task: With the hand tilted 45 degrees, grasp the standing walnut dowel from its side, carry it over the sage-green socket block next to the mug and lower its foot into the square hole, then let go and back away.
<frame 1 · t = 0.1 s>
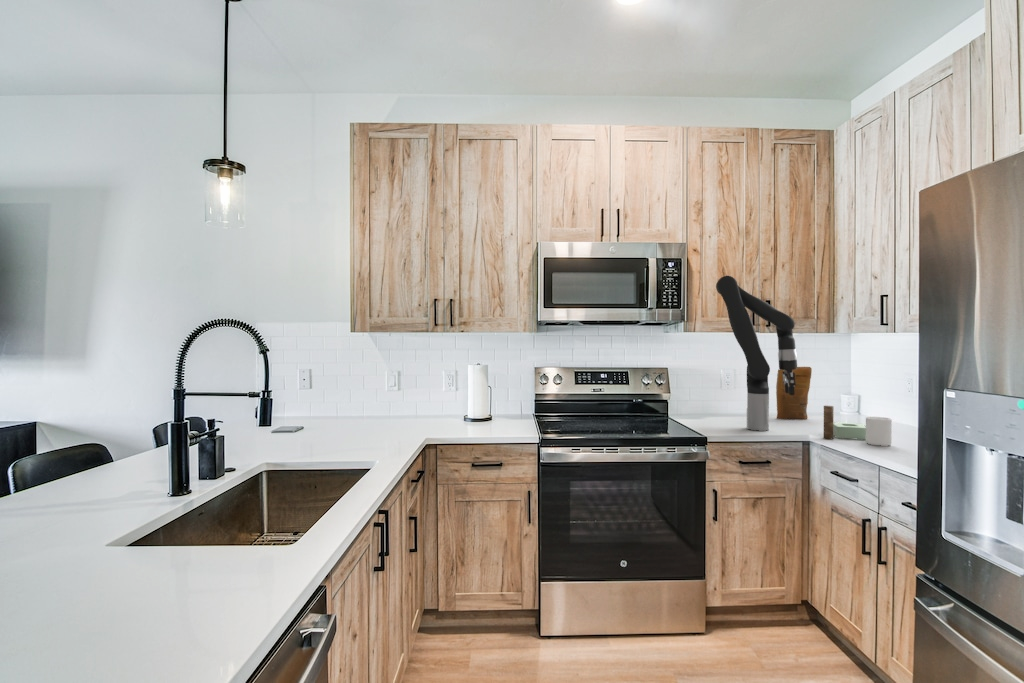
hand: (789, 394, 239), 17 cm above the countertop, tool pointing down, fingers open, 8 cm apart
dowel: (828, 438, 222), on the countertop
socket block: (849, 436, 227), on the countertop
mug: (875, 443, 212), on the countertop
pancake mix bag: (793, 419, 275), on the countertop
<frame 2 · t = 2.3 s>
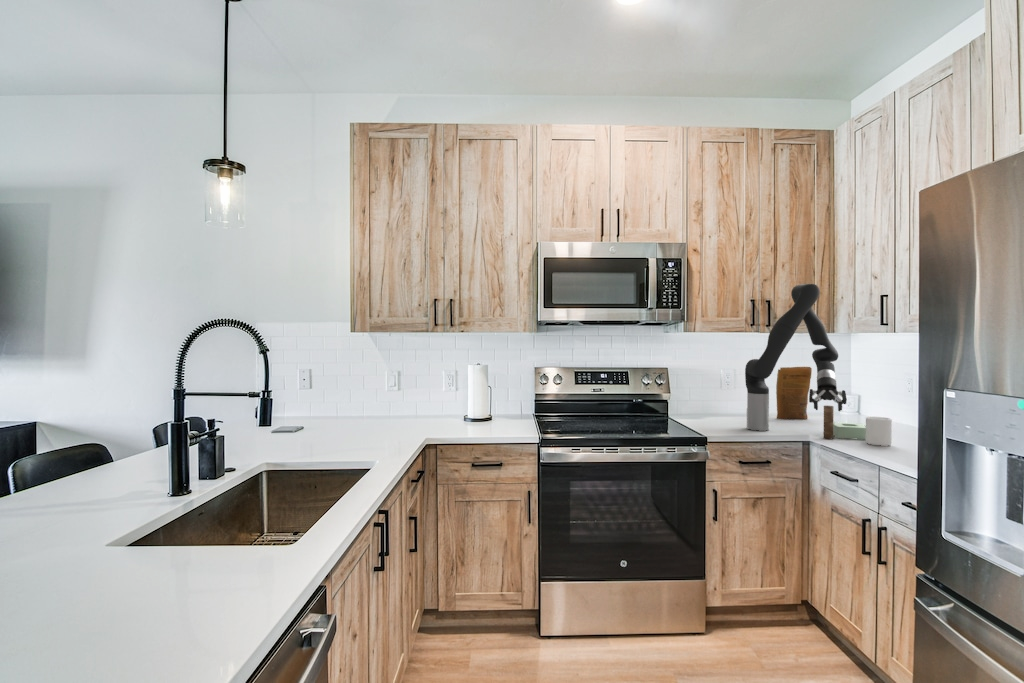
hand: (828, 409, 226), 12 cm above the countertop, tool tilted 45°, fingers open, 8 cm apart
nothing on the countertop moved.
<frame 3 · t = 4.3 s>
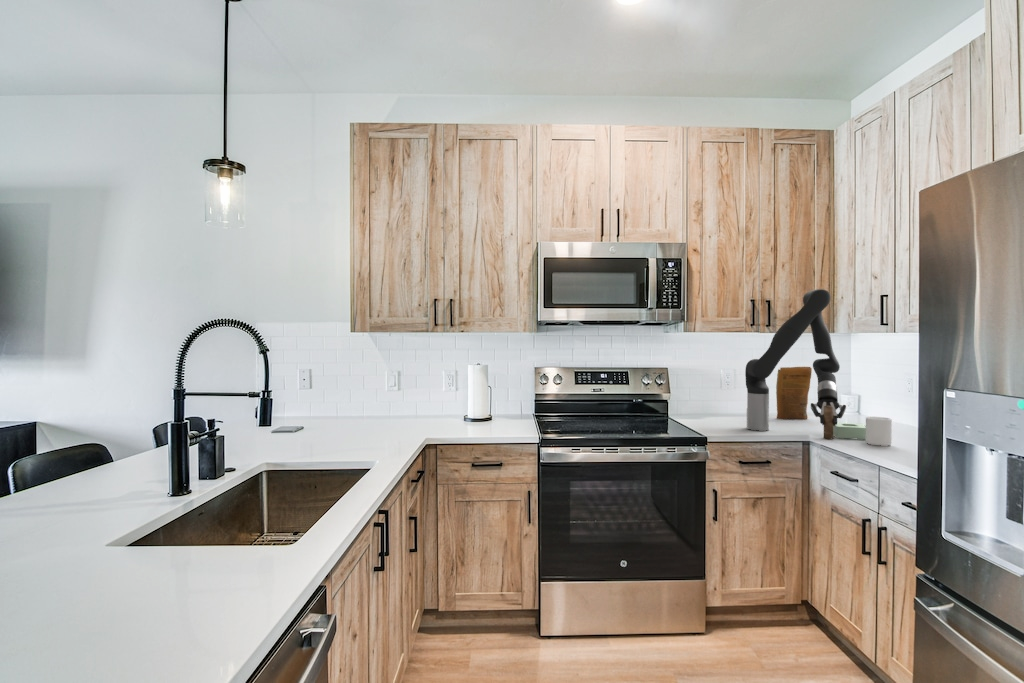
hand: (828, 424, 221), 7 cm above the countertop, tool tilted 45°, fingers closed on dowel, 3 cm apart
dowel: (828, 438, 222), on the countertop, touching gripper
everything else where it was.
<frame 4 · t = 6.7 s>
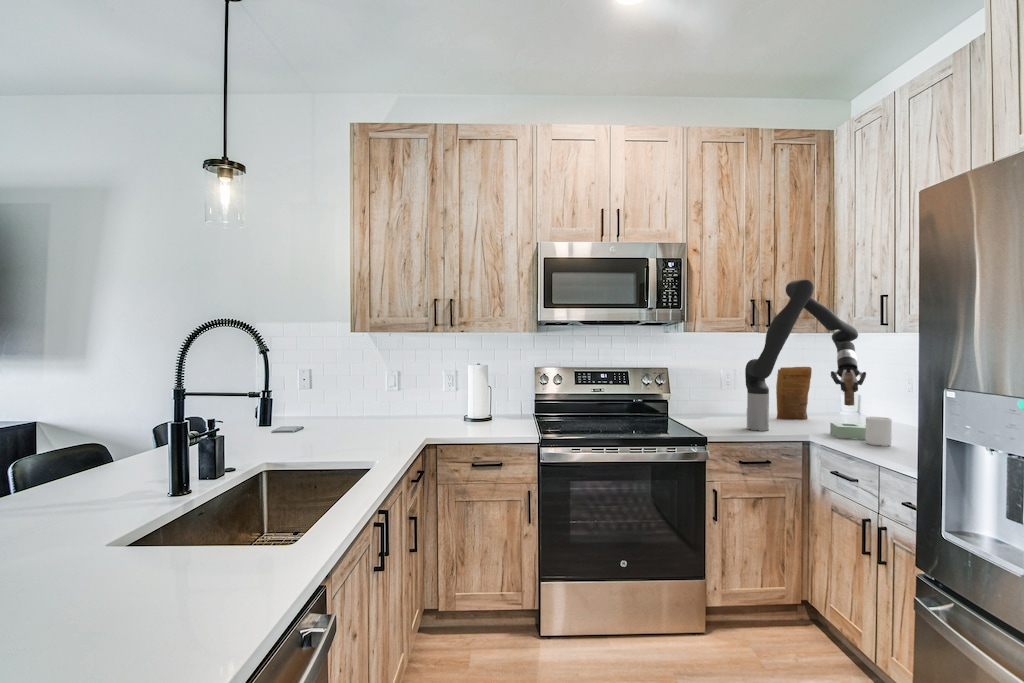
hand: (849, 390, 224), 20 cm above the countertop, tool tilted 45°, fingers closed on dowel, 3 cm apart
dowel: (849, 405, 226), point 14 cm above the countertop, touching gripper
everything else where it was.
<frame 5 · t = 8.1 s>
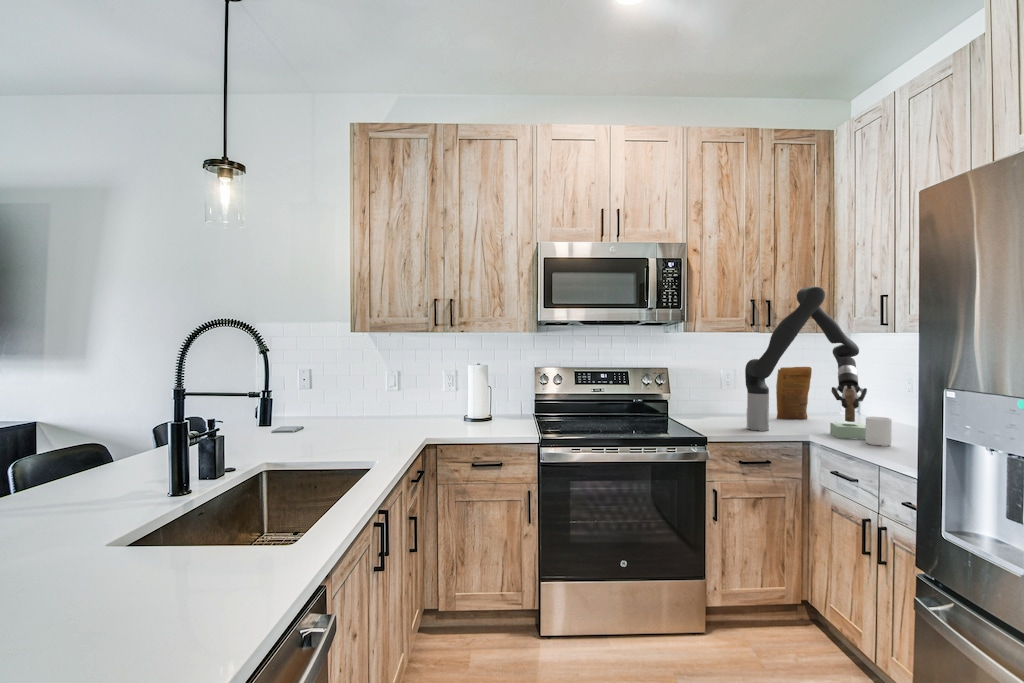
hand: (850, 407, 225), 13 cm above the countertop, tool tilted 45°, fingers closed on dowel, 3 cm apart
dowel: (849, 421, 227), point 7 cm above the countertop, touching gripper
everything else where it was.
when the fingers open (9 cm above the countertop, at t = 9.1 s): dowel drops 3 cm, resting in socket block.
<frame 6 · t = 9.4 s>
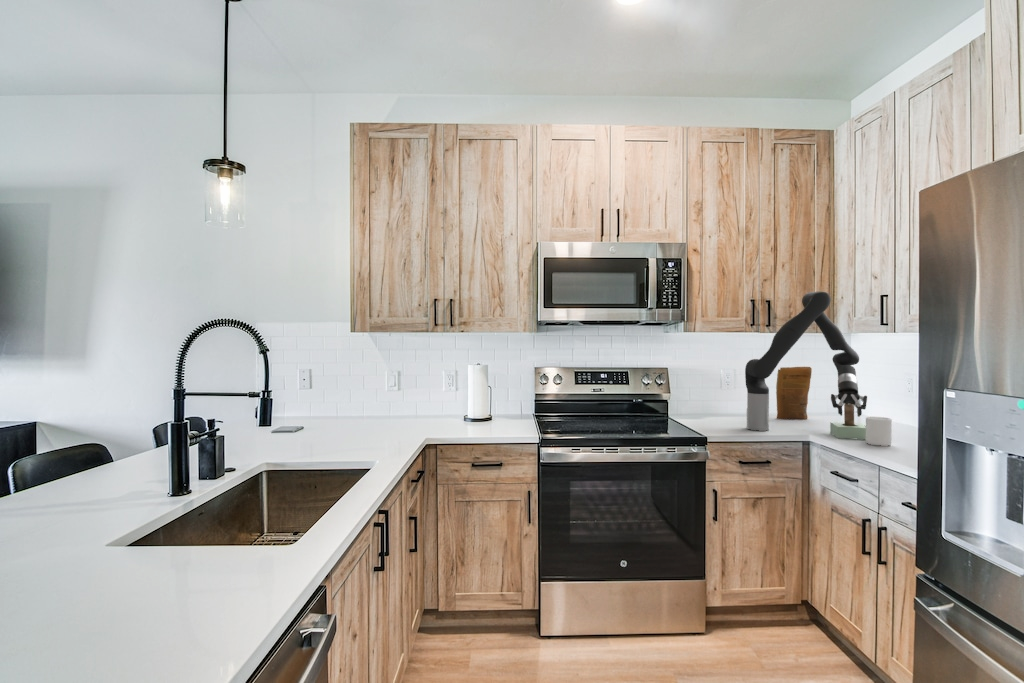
hand: (850, 414, 225), 10 cm above the countertop, tool tilted 45°, fingers open, 6 cm apart
dowel: (849, 436, 227), resting in socket block
everything else where it was.
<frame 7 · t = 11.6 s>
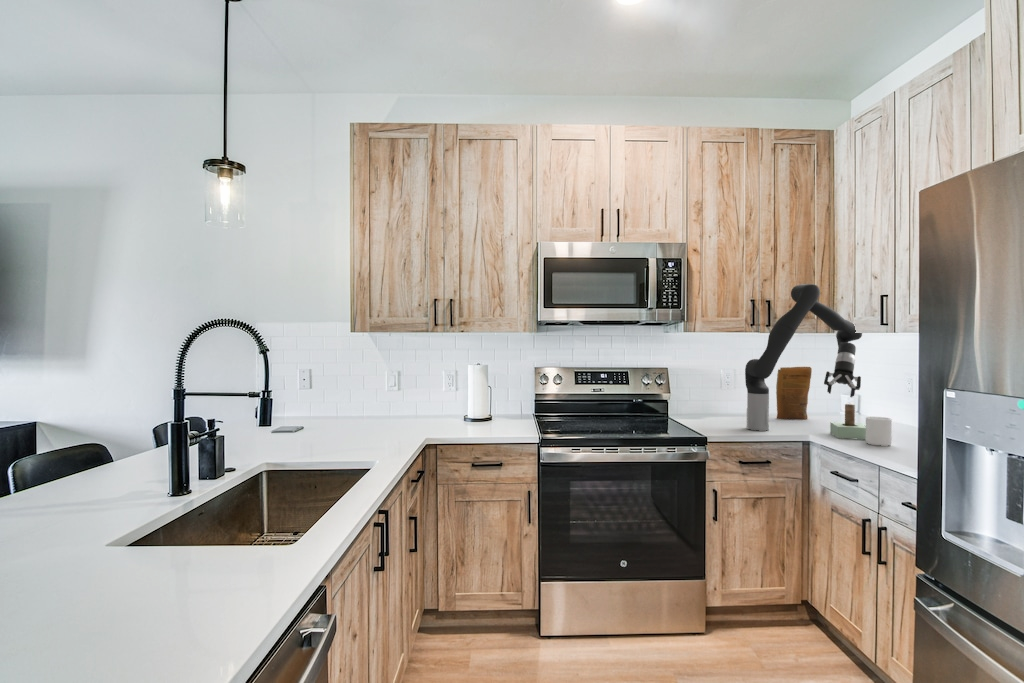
hand: (840, 394, 238), 17 cm above the countertop, tool tilted 30°, fingers open, 8 cm apart
nothing on the countertop moved.
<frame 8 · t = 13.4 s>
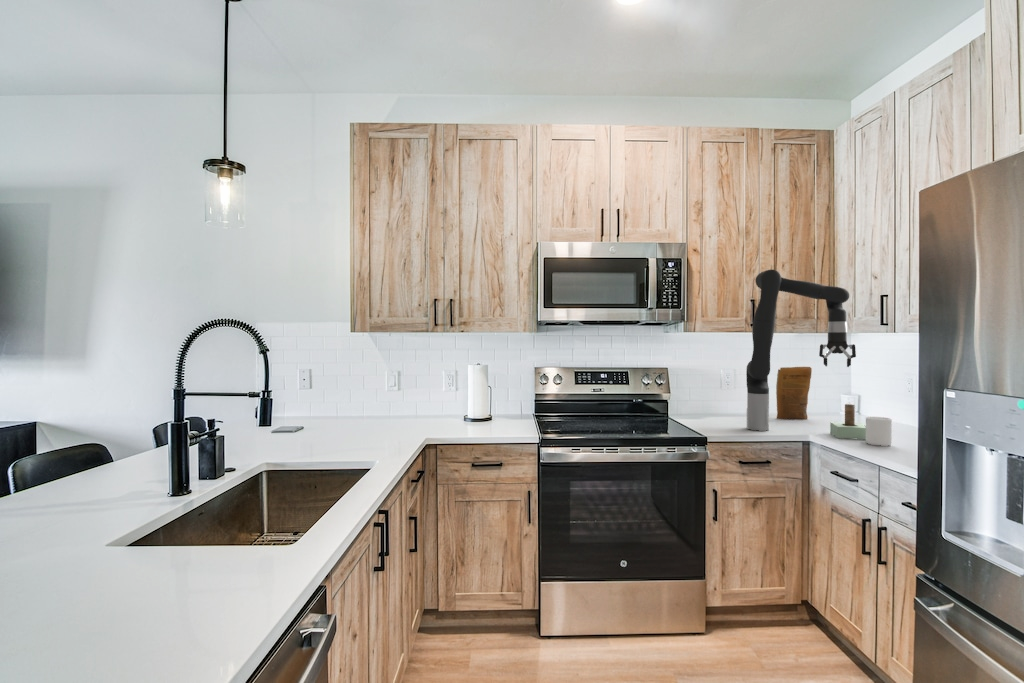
hand: (837, 366, 239), 30 cm above the countertop, tool pointing down, fingers open, 8 cm apart
nothing on the countertop moved.
at the end: dowel 0.0 cm off-centre on the socket block, point 0.0 cm above the socket block's base; dowel tilted 0°; the gripper is holding nothing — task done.
